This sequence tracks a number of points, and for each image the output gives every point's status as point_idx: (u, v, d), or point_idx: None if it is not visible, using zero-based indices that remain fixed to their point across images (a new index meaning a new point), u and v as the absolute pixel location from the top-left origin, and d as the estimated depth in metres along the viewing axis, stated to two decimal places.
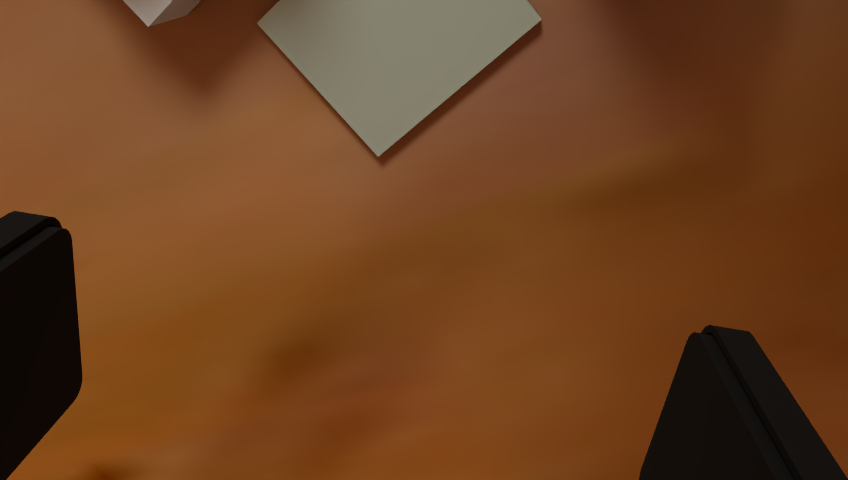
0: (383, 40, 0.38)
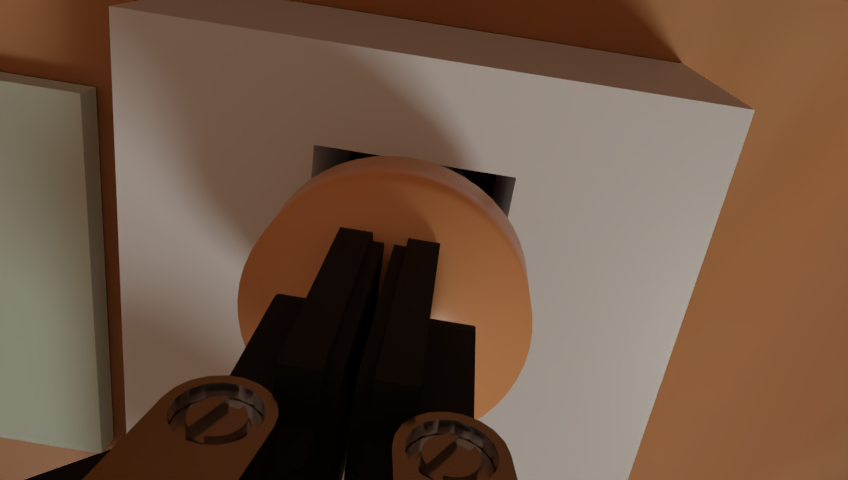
0: None
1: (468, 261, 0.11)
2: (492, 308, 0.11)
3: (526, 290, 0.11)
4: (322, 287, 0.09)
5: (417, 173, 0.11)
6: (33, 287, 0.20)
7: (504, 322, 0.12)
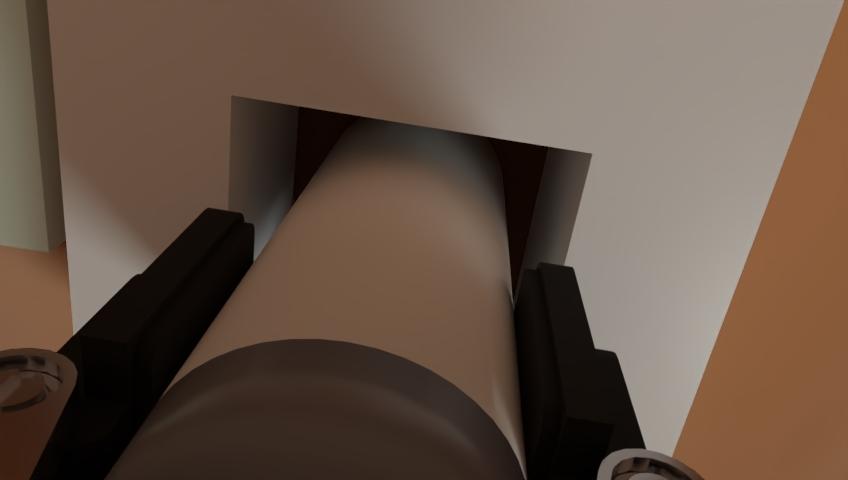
0: None
1: None
2: None
3: None
4: (163, 264, 0.09)
5: None
6: None
7: None
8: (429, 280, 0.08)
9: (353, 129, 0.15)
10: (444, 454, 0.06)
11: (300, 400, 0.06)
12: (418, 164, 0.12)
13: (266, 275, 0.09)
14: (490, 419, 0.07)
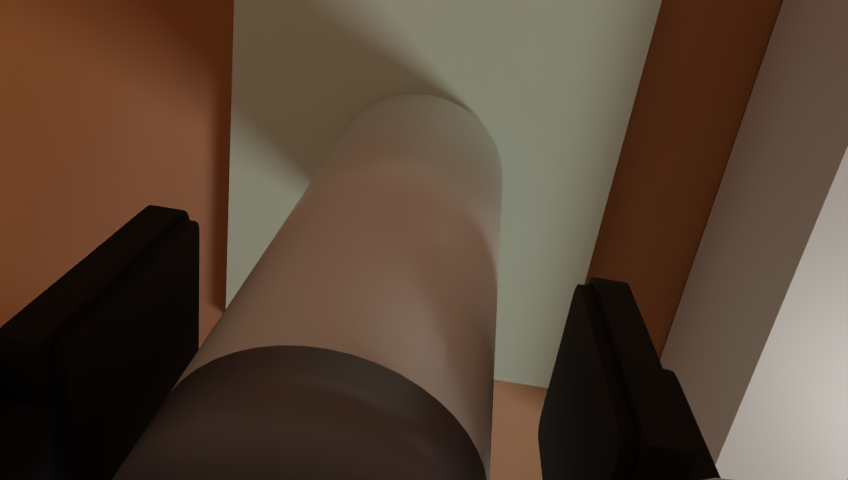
0: None
1: None
2: None
3: None
4: (91, 262, 0.09)
5: None
6: (539, 195, 0.18)
7: None
8: (408, 286, 0.09)
9: (358, 123, 0.16)
10: (403, 450, 0.07)
11: (282, 403, 0.07)
12: (413, 165, 0.13)
13: (265, 279, 0.10)
14: (452, 416, 0.08)
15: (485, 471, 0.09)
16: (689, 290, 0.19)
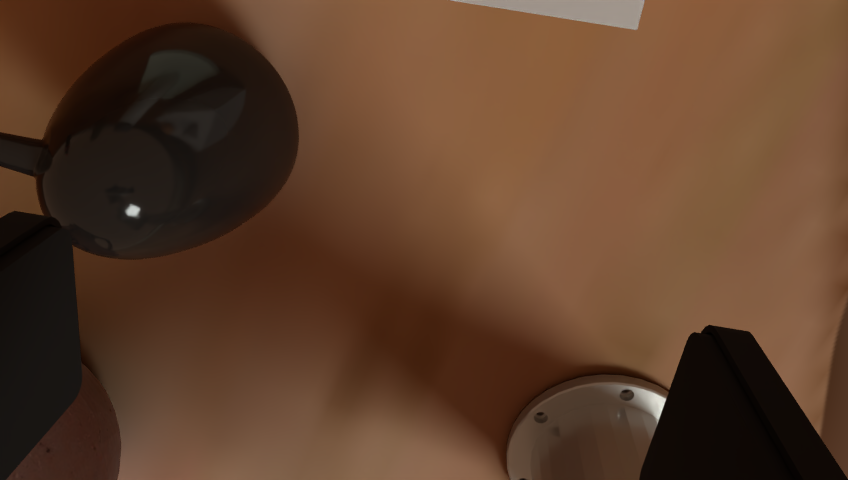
0: None
1: None
2: None
3: None
4: None
5: None
6: None
7: None
8: None
9: None
10: None
11: None
12: None
13: None
14: None
15: None
16: None
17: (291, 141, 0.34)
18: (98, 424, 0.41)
